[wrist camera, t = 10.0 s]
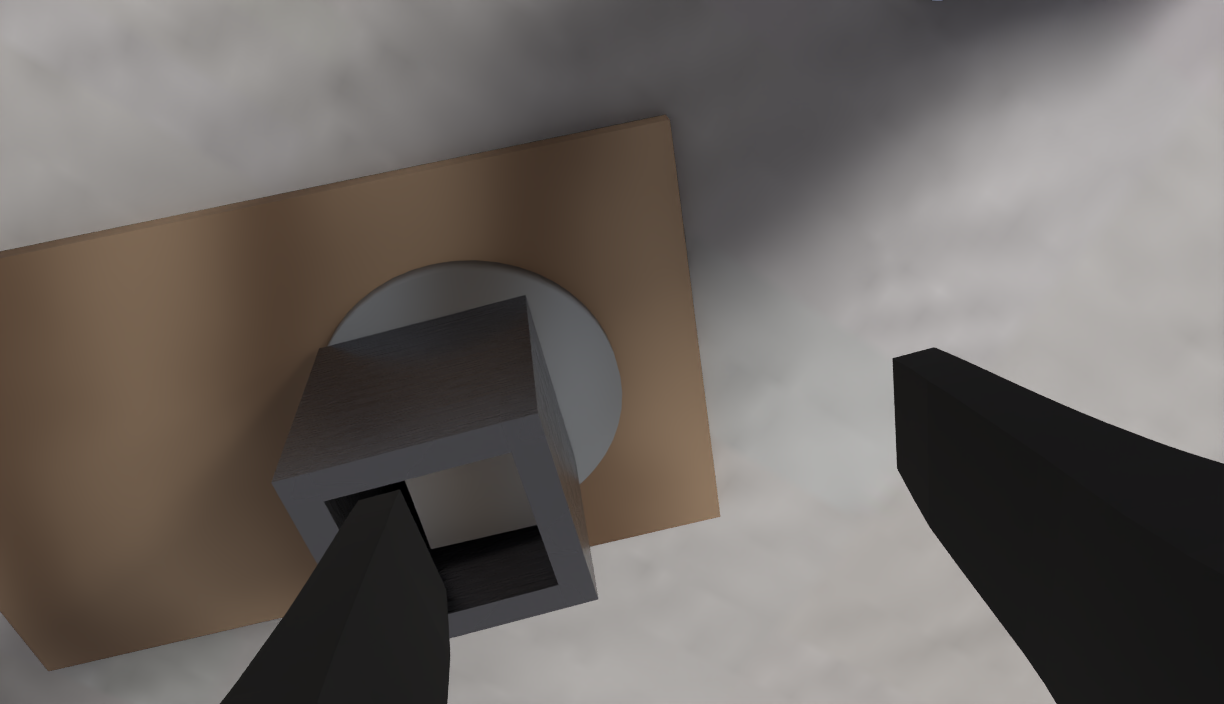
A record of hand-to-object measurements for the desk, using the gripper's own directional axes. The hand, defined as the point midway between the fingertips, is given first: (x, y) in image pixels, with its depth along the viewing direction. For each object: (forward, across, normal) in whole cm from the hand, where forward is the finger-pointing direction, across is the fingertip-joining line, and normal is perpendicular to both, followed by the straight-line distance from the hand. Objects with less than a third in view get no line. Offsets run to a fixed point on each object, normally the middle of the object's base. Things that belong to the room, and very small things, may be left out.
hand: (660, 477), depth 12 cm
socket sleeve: (+8, +4, +3) cm, 10 cm away
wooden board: (+10, +8, +3) cm, 13 cm away
